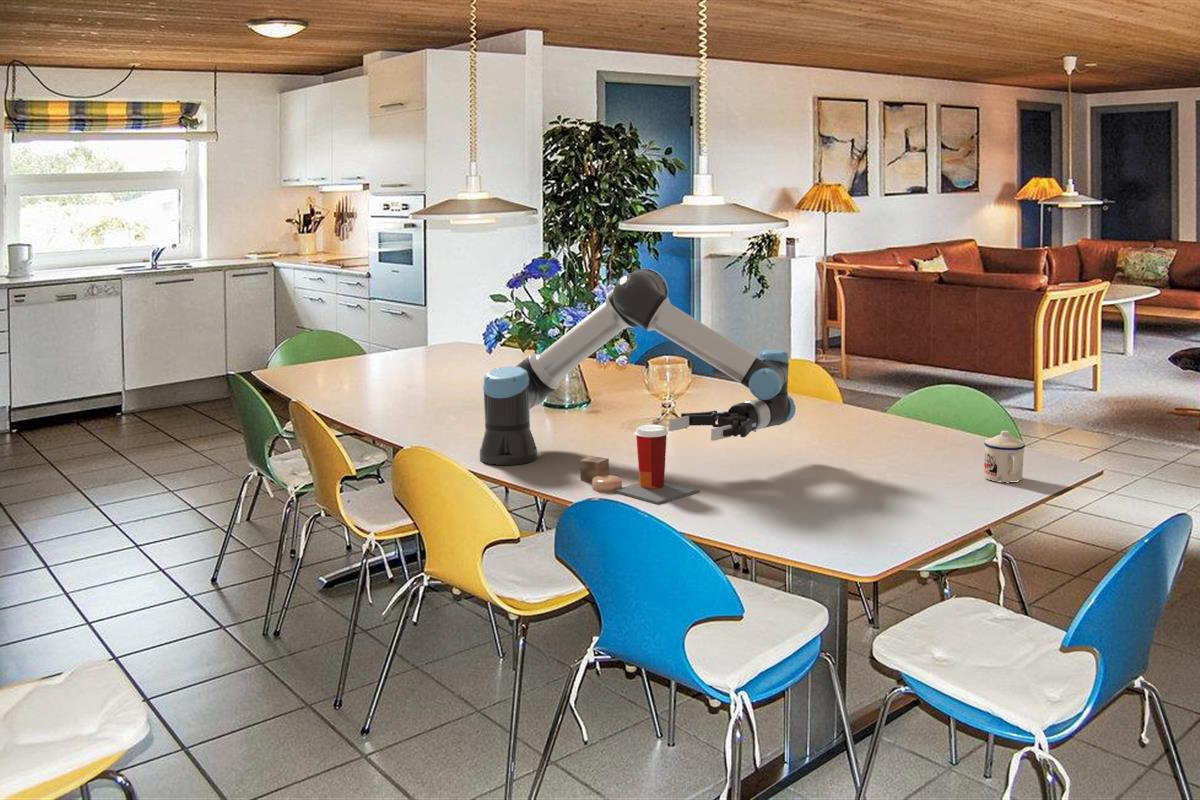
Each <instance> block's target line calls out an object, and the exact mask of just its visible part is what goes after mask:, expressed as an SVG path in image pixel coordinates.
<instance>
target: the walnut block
mask: <svg viewBox="0 0 1200 800" xmlns="http://www.w3.org/2000/svg"><path fill="white" fill-rule="evenodd" d="M579 461H580V462H579V463H580V464H579V465H580V481H586V482H590V483H592V479H593V478H594V477H597V476H601V475H610V468H609V467H610V466H609V465H610V463H609V462H610V460H609V457H602V456H596V455H595V456H594V455H590V456H587V457H586V458H585V457H584V458H583V459H580V460H579Z"/></svg>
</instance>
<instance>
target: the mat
mask: <svg viewBox="0 0 1200 800" xmlns="http://www.w3.org/2000/svg"><path fill="white" fill-rule="evenodd" d="M699 492H700V488H696V487H692V486H689V485H683V484H681V483H676V482H673V481H668V480H665V479H664V486H663V487H662V488H658V489H646V488H642V487H641V486H640V482H637V483H634V484H630V485H626V486H622V488H619V489H615V490H614V493H615V494H620V495H623V496H625V497H630V498H634V499H637V500H642V501H644V502H648V503H651V502H652V504H655V505H659V503H660V504H663V502H664V503H667V502H670V501H673V500H672V499H674V500H676V498H677V499H679V498H683V496H684V497H686V496H690V495H693V494H697V493H699ZM669 500H670V501H669ZM666 501H667V502H666Z"/></svg>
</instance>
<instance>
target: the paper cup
mask: <svg viewBox="0 0 1200 800" xmlns="http://www.w3.org/2000/svg"><path fill="white" fill-rule="evenodd" d="M668 434H669V433H668V431H667V429H666V427H665V426H664V425H660V424H643V425H640V426H637V428H636V429H635V432H634V435H635V436H636V437H635V438H636V448H637V451H636V452H637V464H638V465H637V466H638V474H639V475H638V476H639V483H640V486H641V487H642V488H646V489H658V488H662V487H663V486H664V480H665V476H666V475H665V471H666V454H667V453H666V452H667V451H666V450H667V435H668Z"/></svg>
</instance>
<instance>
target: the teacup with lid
mask: <svg viewBox="0 0 1200 800" xmlns="http://www.w3.org/2000/svg"><path fill="white" fill-rule="evenodd" d="M1010 434H1011V433H1010V431H1008V430H1002V431H1000V434H998V435H995V436H994V437H989V438H986V439H985V441H984V443H983V444H984V445H985V446H984V448H985V449H984V464H983V477H985V478H987V479H990V480H994V481H1001V482H1010V481H1017V480H1021V479H1022V480H1023V469H1024V467H1023V466H1024V456H1025V455H1024V454H1025V453H1024V450H1025V447H1026V443H1025V442H1024V441H1023V440H1022V439H1019V438H1017V437H1015V436H1014V435H1010ZM985 478H984V479H985ZM987 479H986V480H987ZM1022 480H1021V481H1022Z"/></svg>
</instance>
